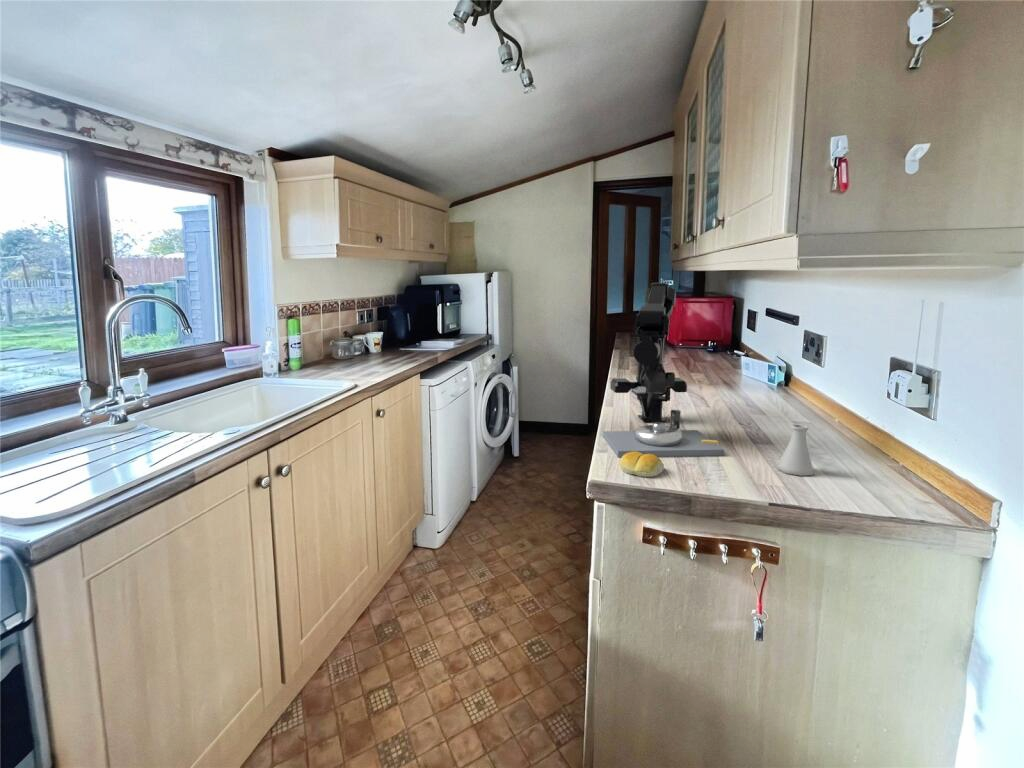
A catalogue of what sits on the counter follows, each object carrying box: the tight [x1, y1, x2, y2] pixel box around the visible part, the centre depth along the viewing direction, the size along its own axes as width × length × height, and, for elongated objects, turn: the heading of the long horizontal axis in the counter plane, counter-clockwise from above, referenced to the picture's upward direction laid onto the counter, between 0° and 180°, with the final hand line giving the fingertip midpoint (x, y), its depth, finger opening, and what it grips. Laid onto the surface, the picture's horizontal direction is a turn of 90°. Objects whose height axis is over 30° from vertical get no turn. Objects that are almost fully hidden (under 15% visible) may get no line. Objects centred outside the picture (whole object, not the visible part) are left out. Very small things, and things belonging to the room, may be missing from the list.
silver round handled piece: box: [635, 409, 682, 446], centre depth 127 cm, size 16×11×6 cm
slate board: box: [602, 429, 725, 458], centre depth 126 cm, size 16×26×2 cm, turn 93°
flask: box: [776, 423, 815, 477], centre depth 109 cm, size 7×7×10 cm
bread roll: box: [619, 452, 665, 478], centre depth 110 cm, size 8×9×4 cm
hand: (646, 417), depth 135 cm, fingers closed
